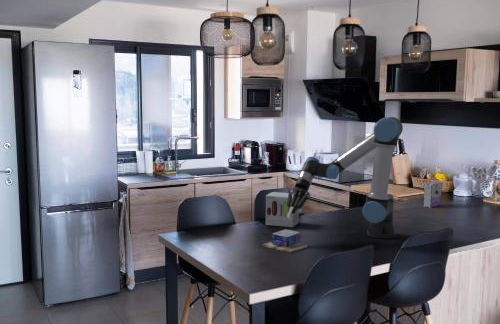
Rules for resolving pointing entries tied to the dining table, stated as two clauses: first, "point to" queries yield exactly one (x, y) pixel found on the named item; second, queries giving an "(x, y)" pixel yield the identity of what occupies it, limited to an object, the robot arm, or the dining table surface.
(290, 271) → the dining table surface
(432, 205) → the candy box
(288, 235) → the ink cartridge box
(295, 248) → the board
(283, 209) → the supplement box
